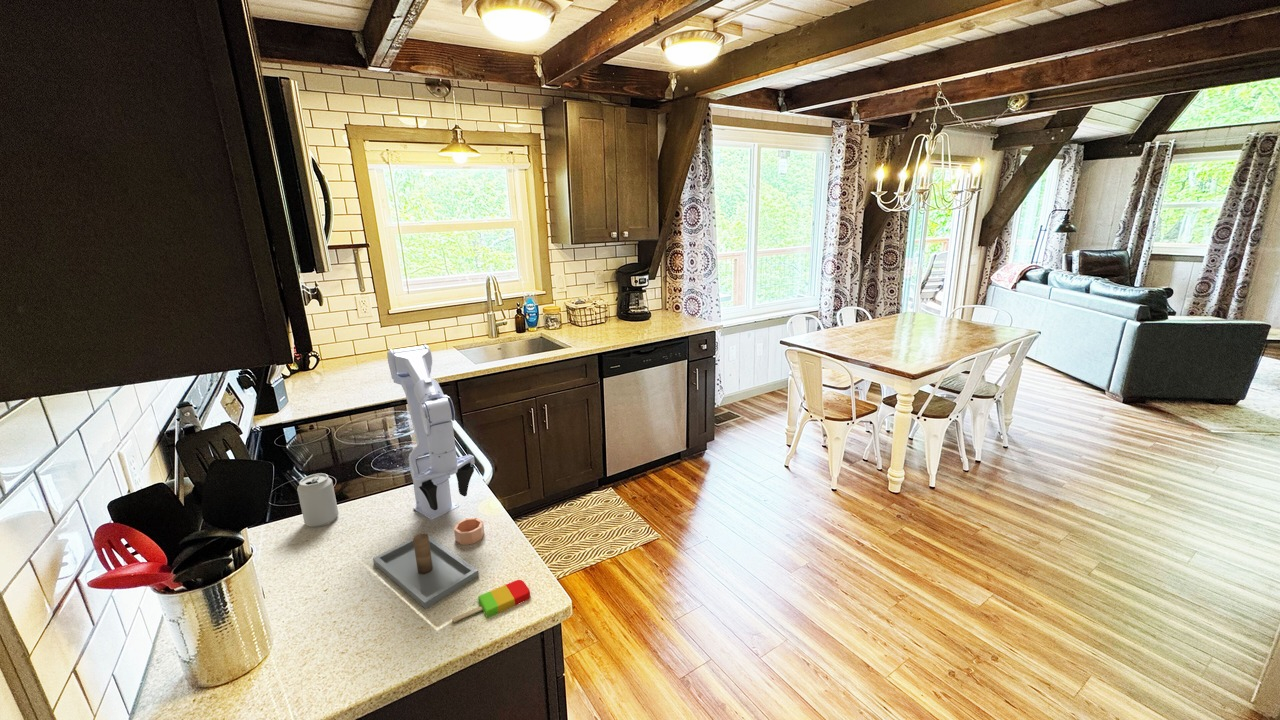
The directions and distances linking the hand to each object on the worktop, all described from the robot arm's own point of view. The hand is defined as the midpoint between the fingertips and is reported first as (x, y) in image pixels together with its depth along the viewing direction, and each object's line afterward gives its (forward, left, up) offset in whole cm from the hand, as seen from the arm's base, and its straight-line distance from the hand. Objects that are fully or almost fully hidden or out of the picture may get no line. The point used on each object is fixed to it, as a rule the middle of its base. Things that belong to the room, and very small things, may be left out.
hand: (449, 501), depth 119 cm
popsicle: (+27, -8, -10) cm, 30 cm away
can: (-33, -17, -10) cm, 38 cm away
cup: (+4, +2, -9) cm, 10 cm away
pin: (+7, -11, -9) cm, 16 cm away
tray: (+7, -11, -9) cm, 16 cm away
